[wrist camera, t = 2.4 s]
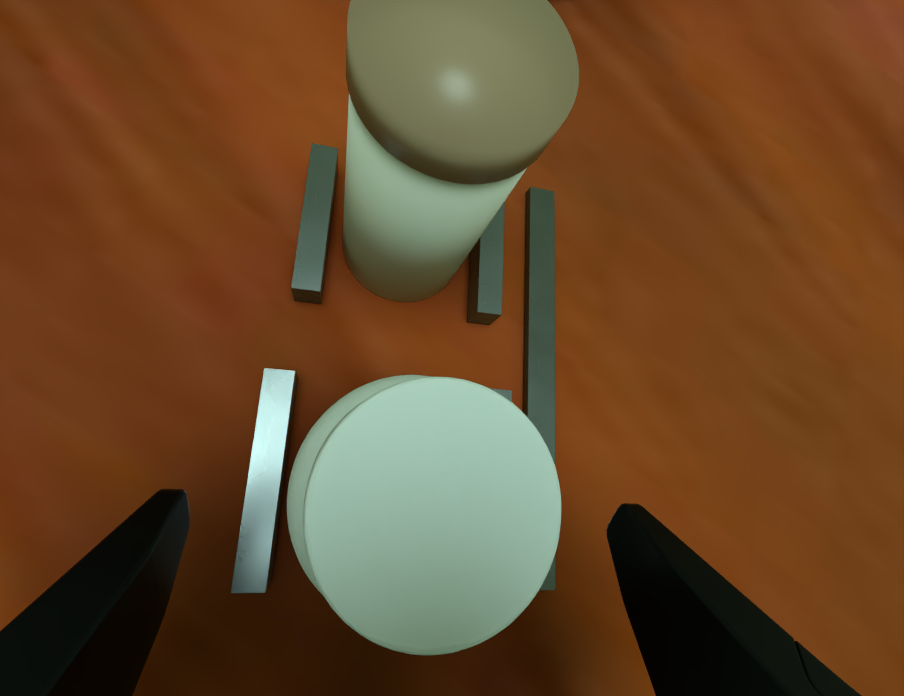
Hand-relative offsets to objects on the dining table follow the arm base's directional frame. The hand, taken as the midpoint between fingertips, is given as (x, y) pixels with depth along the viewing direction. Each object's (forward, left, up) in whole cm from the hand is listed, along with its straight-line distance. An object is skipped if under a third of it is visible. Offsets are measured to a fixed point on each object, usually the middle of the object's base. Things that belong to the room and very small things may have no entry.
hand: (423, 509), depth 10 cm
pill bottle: (0, 0, -8) cm, 8 cm away
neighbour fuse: (+9, -3, -8) cm, 13 cm away
